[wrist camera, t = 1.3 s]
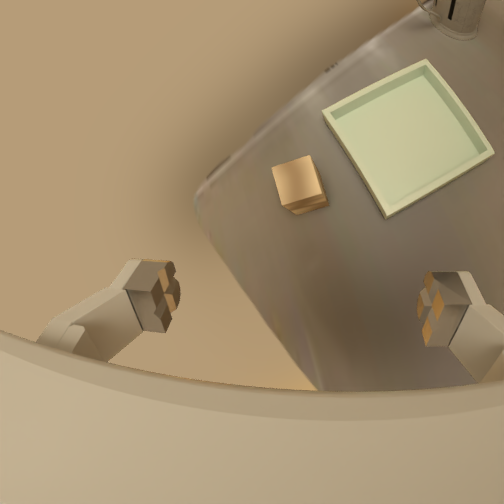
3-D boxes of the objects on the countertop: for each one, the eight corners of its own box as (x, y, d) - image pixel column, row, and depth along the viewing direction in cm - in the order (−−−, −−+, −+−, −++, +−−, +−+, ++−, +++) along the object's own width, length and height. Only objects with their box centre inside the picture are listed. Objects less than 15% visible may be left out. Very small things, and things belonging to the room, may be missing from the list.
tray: (423, 71, 36) (426, 58, 33) (486, 160, 33) (494, 152, 30) (324, 121, 41) (321, 111, 38) (385, 219, 38) (387, 216, 35)
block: (319, 173, 41) (309, 155, 34) (329, 205, 41) (321, 193, 33) (287, 183, 43) (271, 167, 35) (296, 215, 42) (282, 205, 35)
